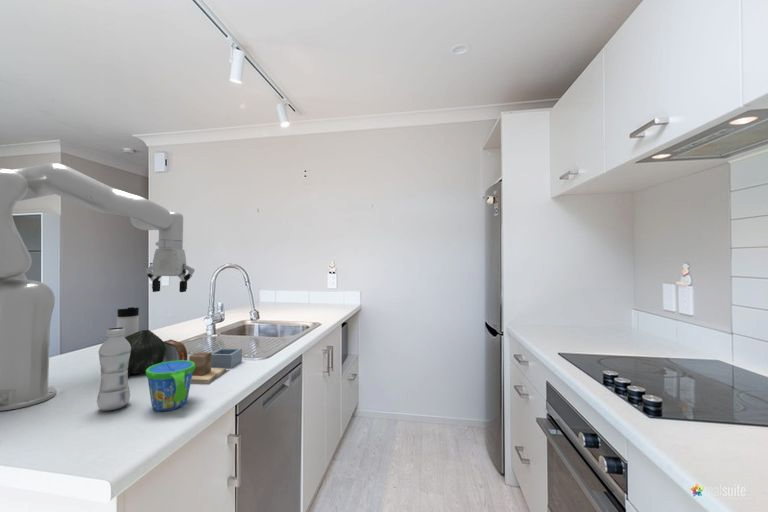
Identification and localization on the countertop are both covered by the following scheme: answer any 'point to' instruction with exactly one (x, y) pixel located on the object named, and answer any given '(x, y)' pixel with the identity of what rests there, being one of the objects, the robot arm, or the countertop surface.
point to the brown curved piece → (175, 351)
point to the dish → (226, 358)
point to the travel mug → (128, 320)
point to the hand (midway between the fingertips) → (169, 291)
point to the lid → (204, 368)
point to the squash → (144, 351)
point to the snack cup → (169, 384)
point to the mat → (213, 379)
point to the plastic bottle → (114, 370)
